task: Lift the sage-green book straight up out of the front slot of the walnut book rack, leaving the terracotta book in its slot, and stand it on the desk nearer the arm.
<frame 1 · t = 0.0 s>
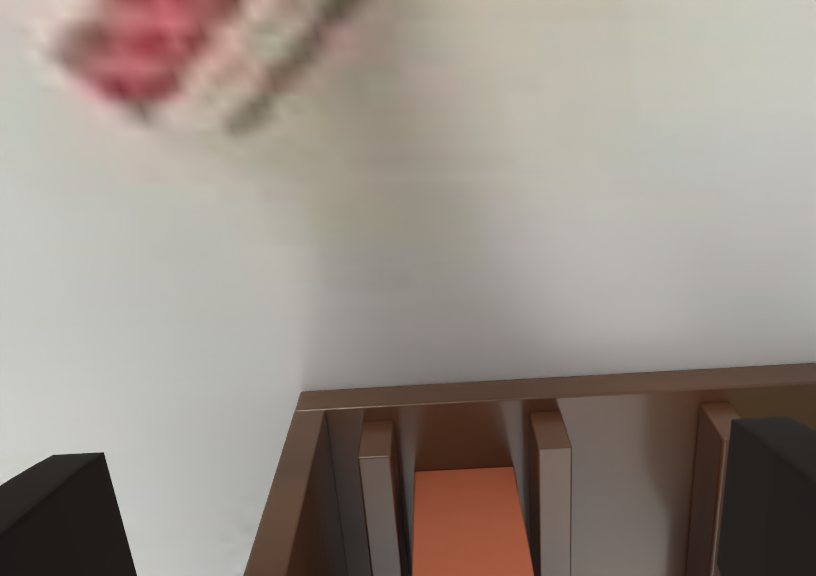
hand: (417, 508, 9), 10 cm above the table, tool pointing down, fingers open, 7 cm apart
book rack: (618, 527, 21), on the table
terracotta book: (469, 559, 20), point 1 cm above the table, touching book rack
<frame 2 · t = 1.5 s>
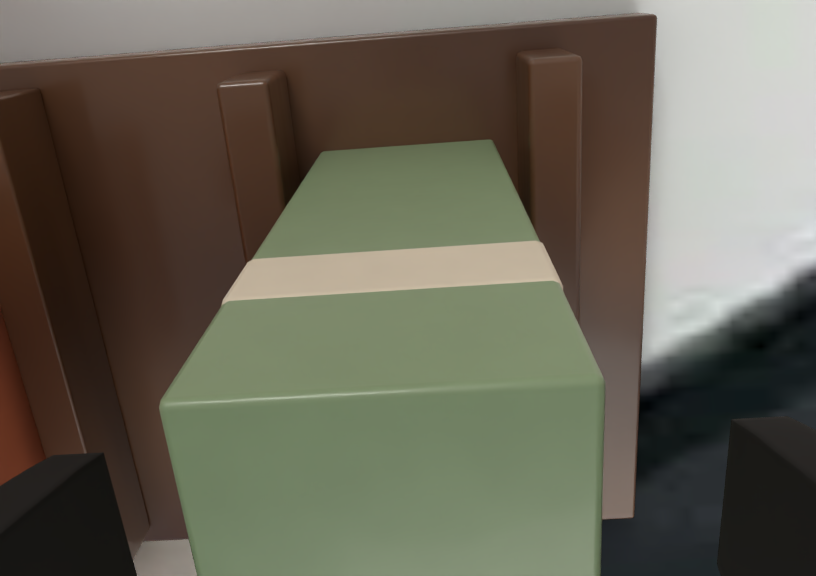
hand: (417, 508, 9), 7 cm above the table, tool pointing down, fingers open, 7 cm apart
book rack: (208, 307, 15), on the table
green book: (419, 314, 14), point 1 cm above the table, touching book rack
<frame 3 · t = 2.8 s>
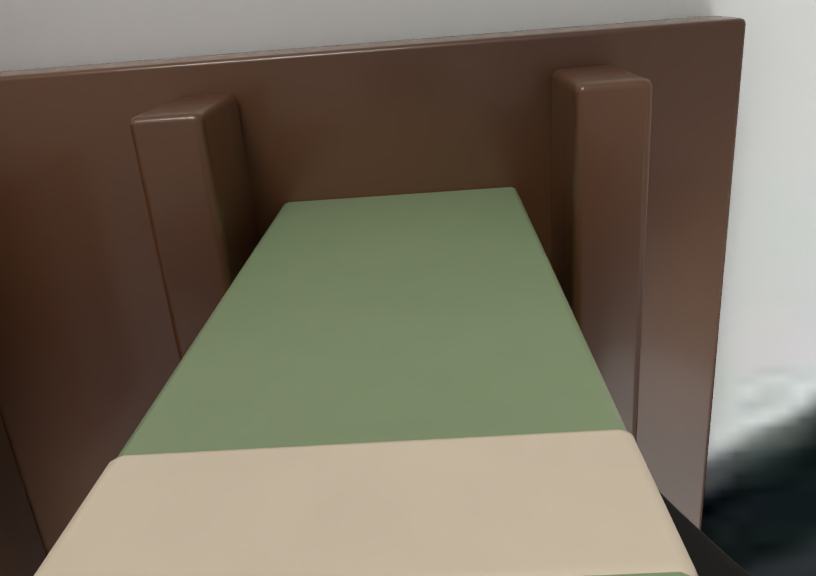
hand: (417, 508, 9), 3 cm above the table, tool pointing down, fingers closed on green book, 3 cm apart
book rack: (150, 390, 12), on the table
green book: (416, 409, 11), point 1 cm above the table, touching book rack, gripper
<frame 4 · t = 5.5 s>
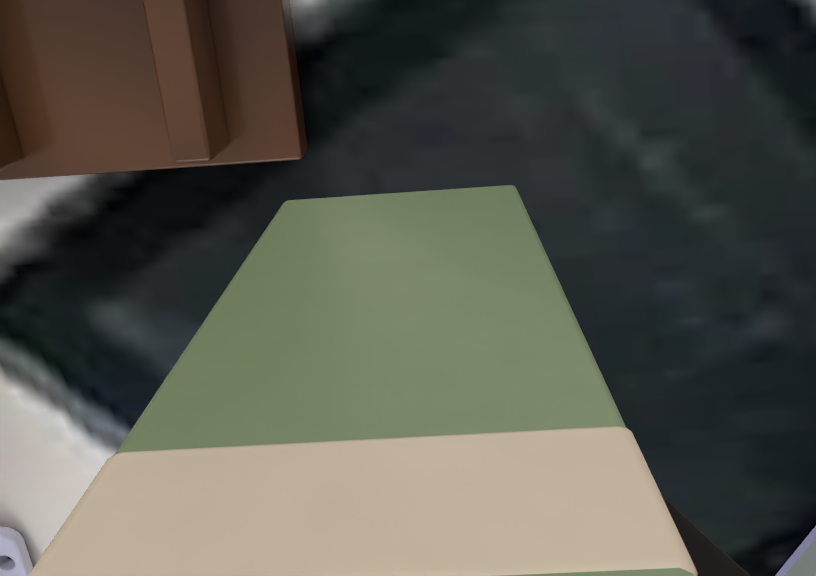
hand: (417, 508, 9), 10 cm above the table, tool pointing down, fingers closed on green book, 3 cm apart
green book: (416, 407, 11), point 8 cm above the table, touching gripper
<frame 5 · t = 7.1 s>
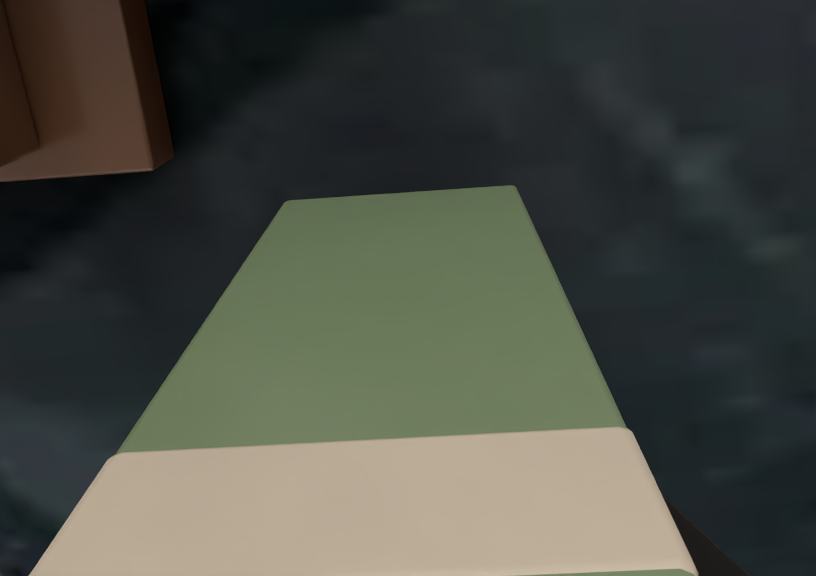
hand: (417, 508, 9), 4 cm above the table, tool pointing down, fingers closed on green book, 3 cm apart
green book: (416, 407, 11), point 2 cm above the table, touching gripper
when the fingers open (2 cm above the table, at t = 8.1 s): green book stays where it is, on the table.
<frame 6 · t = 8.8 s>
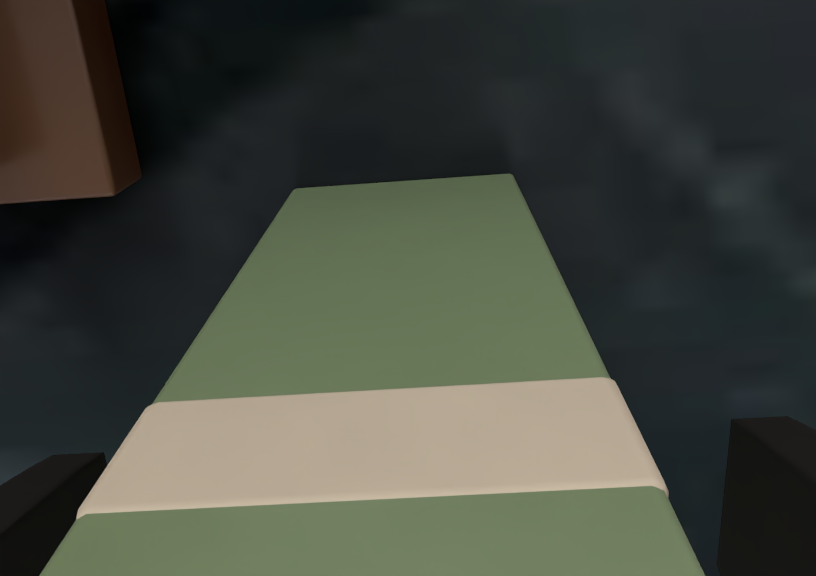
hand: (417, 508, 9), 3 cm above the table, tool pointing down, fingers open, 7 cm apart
green book: (418, 387, 11), on the table
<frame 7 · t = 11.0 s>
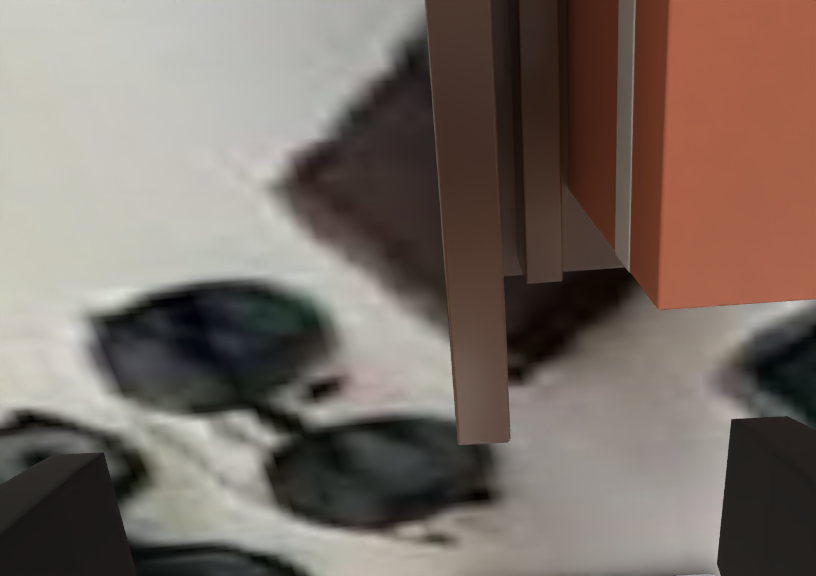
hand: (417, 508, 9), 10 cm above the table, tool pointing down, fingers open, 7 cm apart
book rack: (814, 26, 16), on the table
terracotta book: (628, 46, 16), point 1 cm above the table, touching book rack
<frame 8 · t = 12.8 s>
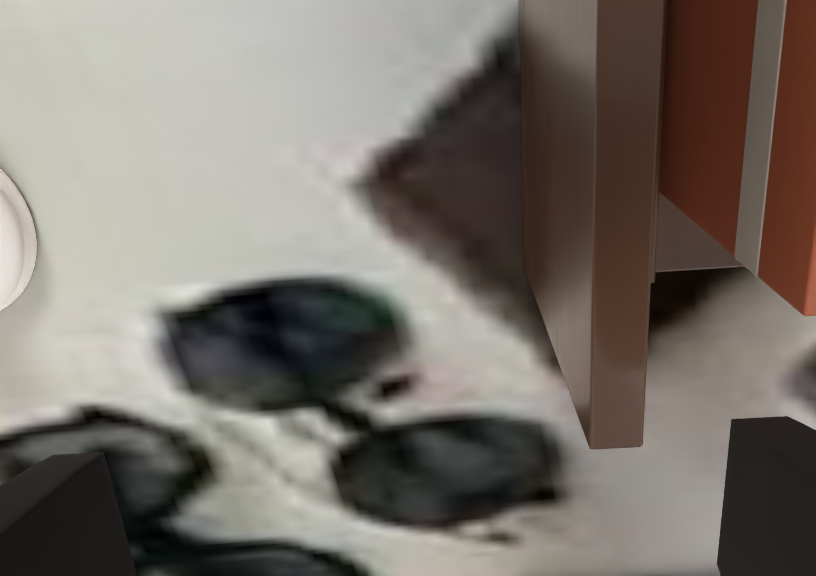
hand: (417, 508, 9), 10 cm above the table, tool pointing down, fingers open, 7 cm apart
terracotta book: (726, 47, 16), point 1 cm above the table, touching book rack
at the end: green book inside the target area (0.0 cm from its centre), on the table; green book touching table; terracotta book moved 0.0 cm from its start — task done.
